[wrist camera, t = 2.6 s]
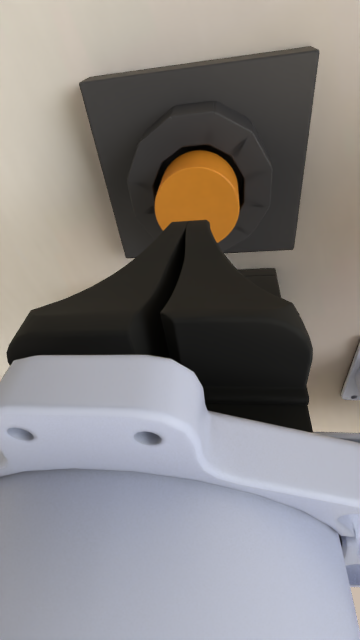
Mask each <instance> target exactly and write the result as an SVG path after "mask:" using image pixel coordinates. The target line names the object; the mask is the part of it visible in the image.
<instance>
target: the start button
mask: <svg viewBox="0 0 360 640" xmlns="http://www.w3.org/2000/svg"><path fill="white" fill-rule="evenodd" d="M239 209H240V206H239V193H238V182H237V178H236V175H235V173H234V171H233V169H232V167H231V166H230V165H229V163H228V162H227V161H226V160H224V159H223V158H222V157H220V156H219V155H217V154H215V153H212V152H209V151H202V150H196V151H190V152H187V153H184V154H182V155H180V156H179V157H177V158H176V159H174V160H173V161H172V162H171V163H170V165H169V166H168V167H167V169H166V170H165V172H164V175H163V177H162V180H161V183H160V186H159V189H158V191H157V195H156V198H155V215H156V219H157V221H158V224H159V225H160V227H161V229H162V230H163V231H164V230H165V228H166V227H167V226H168V225H169V224H170V223H171V222H179V221H194V220H207V221H209V222H210V229H211V232H212V234H213V236H214V238H215V240H216V242H217V243H218V242H220V241H221V240H223V239H224V238H225V237H226V236H228V234H229V233H230V232H231V231H232V230H233V228H234V226H235V224H236V222H237V220H238V216H239Z"/></svg>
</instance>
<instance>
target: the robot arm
mask: <svg viewBox="0 0 360 640" xmlns="http://www.w3.org/2000/svg"><path fill="white" fill-rule="evenodd" d="M312 355H313V348H312V345H311V341H310V338H309V335H308V333H307V330H306V328H305V326H304V324H303V321H302V319H301V317H300V316H299V314H298V312H297V310H296V308H295V307H294V305H293V304H292V303H291V302H289V301H286V300H284V299H282V298H280V297H277V296H275V295H273V294H271V293H269V292H267V291H265V290H264V289H262V288H260V287H258V286H257V285H255V284H254V283H252V282H251V281H250V280H248V279H247V278H246V277H245V276H243V275H242V274H241V273H240V272H239V271H238V270H237V269H236V268H235V267H234V266H233V265H232V264H231V262H230V261H229V260H228V259H227V257H226V256H225V255H224V253H223V252H222V250H221V249H220V247H219V245H218V244H217V242H216V240H215V238H214V236H213V234H212V232H211V229H210V222H209V221H207V220H194V221H179V222H171V223H170V224H169V225H168V226H167V227H166V228H165V230H164V231H163V232H162V233H161V234H160V235H159V236H158V237H157V238H156V239H155V240H154V241H153V242H152V243H151V244H150V245H149V246H148V247H147V248H146V249H145V250H144V251H143V252H142V253H140V254H139V255H138V256H137V257H136V258H135V259H134V260H133V261H131V262H130V263H129V264H127V265H126V266H125V267H123V268H122V269H120V270H119V271H118V272H116V273H115V274H113V275H112V276H110V277H108V278H106V279H105V280H103V281H101V282H99V283H98V284H96V285H94V286H92V287H90V288H88V289H86V290H84V291H82V292H80V293H77V294H75V295H73V296H70V297H68V298H66V299H63V300H60V301H58V302H55V303H52V304H49V305H46V306H43V307H40V308H37V309H34V310H31V311H30V313H29V314H28V316H27V317H26V319H25V321H24V322H23V324H22V325H21V327H20V329H19V330H18V332H17V333H16V335H15V336H14V338H13V340H12V341H11V343H10V344H9V347H8V350H7V359H8V363H9V365H10V367H9V368H8V370H7V371H6V373H5V374H4V376H3V378H2V379H1V381H0V640H360V630H359V626H358V621H357V616H356V612H355V607H354V602H353V598H352V593H351V589H350V587H360V433H338V432H313V430H312V425H311V421H310V416H309V411H308V406H307V405H308V403H309V396H308V391H307V387H306V384H307V380H308V376H309V372H310V367H311V363H312ZM341 397H342V399H344V400H360V343H359V346H358V348H357V351H356V354H355V357H354V359H353V362H352V365H351V368H350V370H349V373H348V376H347V379H346V381H345V384H344V387H343V389H342V392H341Z"/></svg>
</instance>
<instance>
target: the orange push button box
mask: <svg viewBox="0 0 360 640" xmlns="http://www.w3.org/2000/svg"><path fill="white" fill-rule="evenodd" d="M318 59H319V50H318V49H316V48H314V47H311V46H309V47H302V48H295V49H288V50H281V51H274V52H266V53H259V54H252V55H245V56H238V57H231V58H223V59H216V60H209V61H202V62H195V63H187V64H180V65H173V66H166V67H159V68H152V69H144V70H137V71H130V72H123V73H116V74H108V75H101V76H94V77H89V78H87V79H85V80H83V81H82V82H80V83H79V85H80V89H81V93H82V96H83V100H84V104H85V108H86V111H87V115H88V119H89V122H90V126H91V130H92V134H93V137H94V141H95V145H96V148H97V152H98V156H99V160H100V163H101V167H102V171H103V174H104V178H105V182H106V186H107V189H108V193H109V197H110V200H111V204H112V208H113V212H114V215H115V219H116V223H117V226H118V230H119V234H120V238H121V241H122V245H123V249H124V252H125V256H126V258H136V257H137V256H138V255H139V254H140V253H142V252H143V251H144V250H145V249H146V248H147V247H148V246H149V245H150V244H151V243H152V242H153V241H154V240H155V239H156V238H157V237H158V236H159V235H160V234H161V233H162V232H163V230H162V229H161V227H160V225H159V224H158V221H157V219H156V215H155V198H156V195H157V191H158V189H159V186H160V183H161V180H162V177H163V175H164V172H165V170H166V169H167V167H168V166H169V165H170V163H171V162H172V161H173V160H174V159H176V158H177V157H179V156H180V155H182V154H184V153H187V152H190V151H196V150H202V151H209V152H212V153H215V154H217V155H219V156H220V157H222V158H223V159H224V160H226V161H227V162H228V163H229V165H230V166H231V167H232V169H233V171H234V173H235V175H236V178H237V182H238V193H239V206H240V209H239V216H238V220H237V222H236V224H235V226H234V228H233V230H232V231H231V232H230V233H229V234H228V236H226V237H225V238H224V239H223V240H221V241H220V242H218V243H217V244H218V245H219V247H220V249H221V250H222V252H223V253H238V252H257V251H277V250H293V249H294V243H295V235H296V228H297V220H298V212H299V205H300V197H301V189H302V182H303V174H304V166H305V159H306V151H307V143H308V136H309V128H310V120H311V112H312V105H313V97H314V89H315V82H316V74H317V66H318Z"/></svg>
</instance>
